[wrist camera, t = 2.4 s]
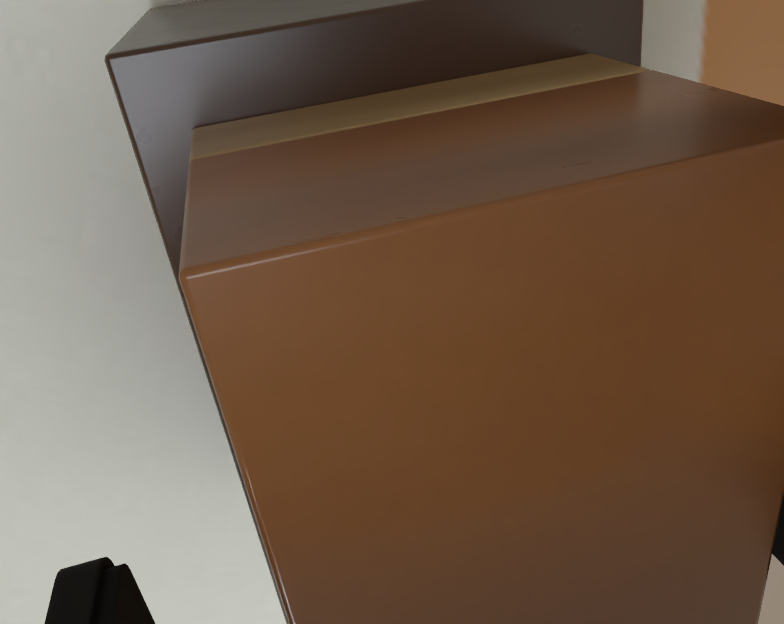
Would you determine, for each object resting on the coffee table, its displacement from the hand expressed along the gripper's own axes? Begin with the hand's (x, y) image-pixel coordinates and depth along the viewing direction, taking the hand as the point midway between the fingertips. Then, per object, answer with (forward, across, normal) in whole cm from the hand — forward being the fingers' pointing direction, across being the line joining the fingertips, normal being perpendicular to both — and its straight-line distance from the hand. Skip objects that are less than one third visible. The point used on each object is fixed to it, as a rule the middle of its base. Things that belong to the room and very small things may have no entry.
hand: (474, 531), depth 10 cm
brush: (+2, 0, 0) cm, 2 cm away
